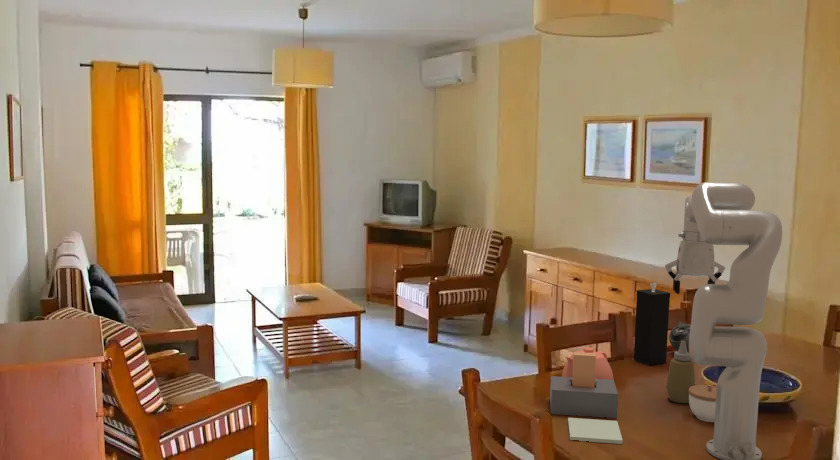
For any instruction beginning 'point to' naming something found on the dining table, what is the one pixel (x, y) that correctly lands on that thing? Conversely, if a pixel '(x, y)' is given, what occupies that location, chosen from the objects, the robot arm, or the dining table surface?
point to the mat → (594, 430)
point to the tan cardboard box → (584, 369)
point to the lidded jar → (703, 401)
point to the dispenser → (583, 398)
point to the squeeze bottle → (680, 375)
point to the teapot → (601, 365)
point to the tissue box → (651, 326)
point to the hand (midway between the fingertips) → (693, 293)
